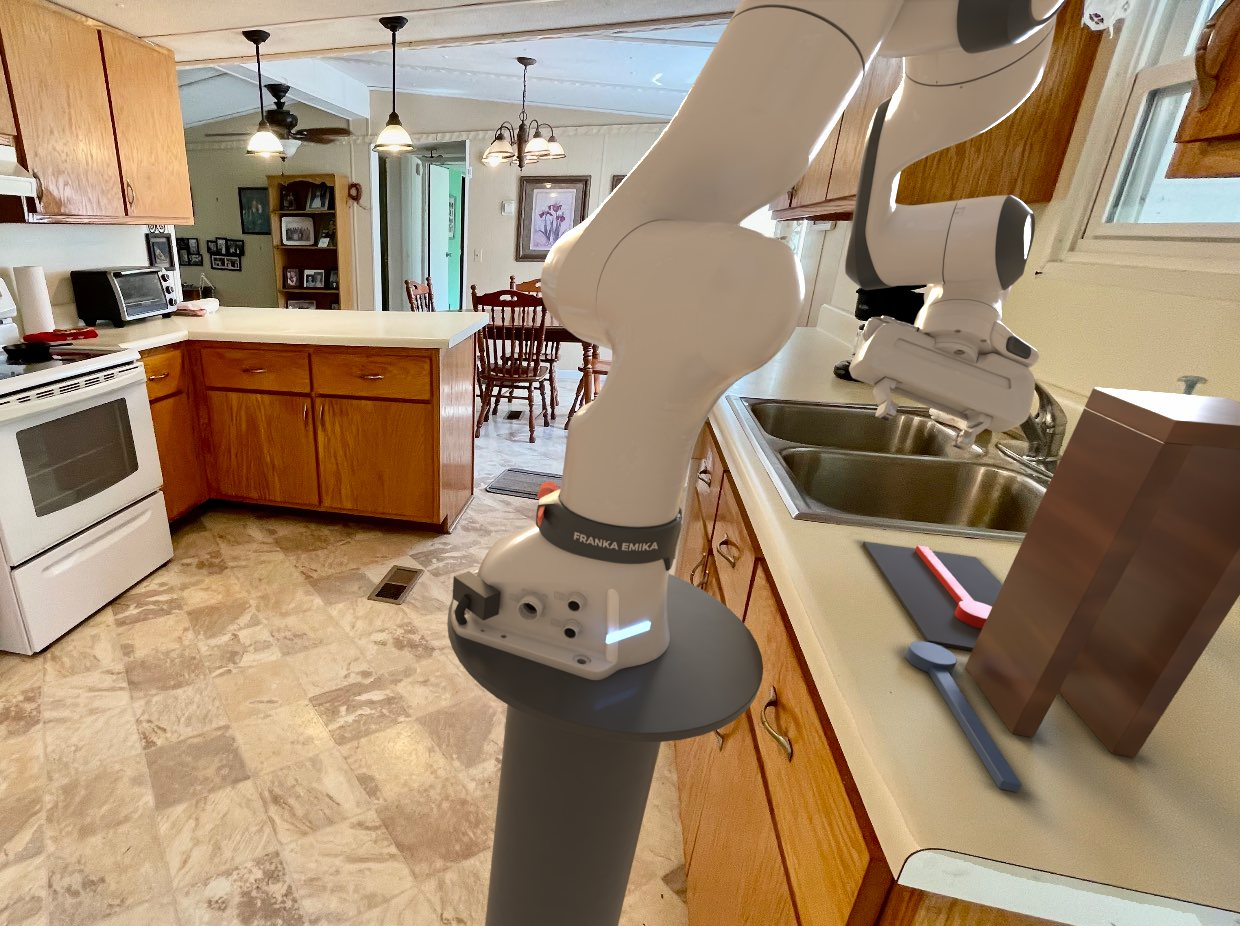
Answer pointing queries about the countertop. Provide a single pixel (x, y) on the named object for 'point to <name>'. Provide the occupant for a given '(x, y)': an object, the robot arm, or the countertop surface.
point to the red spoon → (956, 591)
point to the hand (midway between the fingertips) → (922, 431)
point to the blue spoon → (962, 709)
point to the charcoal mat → (935, 591)
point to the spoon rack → (1120, 568)
